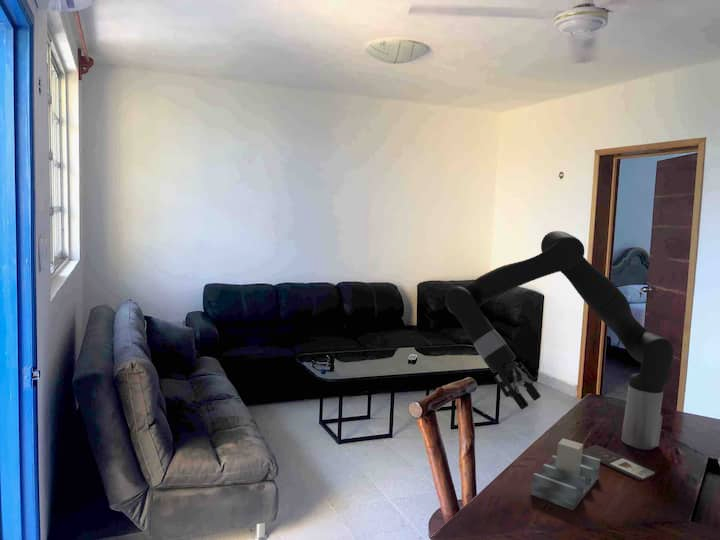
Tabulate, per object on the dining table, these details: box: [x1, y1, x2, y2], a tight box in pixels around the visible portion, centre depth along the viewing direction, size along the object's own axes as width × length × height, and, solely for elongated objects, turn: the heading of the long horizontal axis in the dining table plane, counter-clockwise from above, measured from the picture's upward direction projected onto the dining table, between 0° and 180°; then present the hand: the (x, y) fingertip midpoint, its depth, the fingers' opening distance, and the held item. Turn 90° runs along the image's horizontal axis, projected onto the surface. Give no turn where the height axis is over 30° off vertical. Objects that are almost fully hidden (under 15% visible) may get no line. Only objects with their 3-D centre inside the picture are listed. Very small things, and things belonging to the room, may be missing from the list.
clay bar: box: [555, 437, 584, 476], centre depth 145 cm, size 5×4×10 cm
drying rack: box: [530, 454, 601, 511], centre depth 146 cm, size 10×20×5 cm, turn 143°
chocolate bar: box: [582, 444, 658, 482], centre depth 161 cm, size 9×1×18 cm
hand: (531, 403), depth 152 cm, fingers open, 8 cm apart
